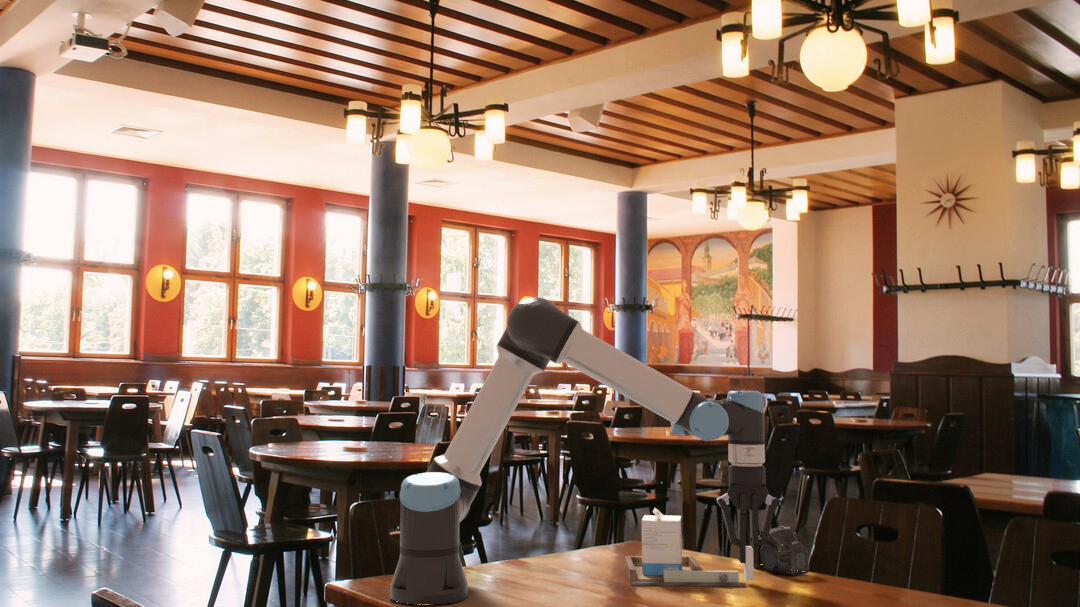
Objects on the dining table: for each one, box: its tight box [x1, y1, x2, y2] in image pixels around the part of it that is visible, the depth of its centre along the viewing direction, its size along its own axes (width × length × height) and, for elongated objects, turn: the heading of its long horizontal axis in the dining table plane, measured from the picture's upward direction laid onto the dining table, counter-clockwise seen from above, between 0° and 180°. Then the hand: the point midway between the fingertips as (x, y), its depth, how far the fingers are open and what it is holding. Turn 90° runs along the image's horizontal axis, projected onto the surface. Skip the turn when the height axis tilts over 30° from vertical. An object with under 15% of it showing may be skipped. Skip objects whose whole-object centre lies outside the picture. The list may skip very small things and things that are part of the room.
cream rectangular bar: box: [664, 570, 740, 583], centre depth 185 cm, size 15×2×3 cm, turn 89°
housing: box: [624, 555, 747, 587], centre depth 193 cm, size 24×18×3 cm
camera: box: [753, 525, 810, 576], centre depth 198 cm, size 13×10×10 cm
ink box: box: [641, 507, 683, 576], centre depth 194 cm, size 9×8×13 cm
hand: (748, 578), depth 185 cm, fingers closed
